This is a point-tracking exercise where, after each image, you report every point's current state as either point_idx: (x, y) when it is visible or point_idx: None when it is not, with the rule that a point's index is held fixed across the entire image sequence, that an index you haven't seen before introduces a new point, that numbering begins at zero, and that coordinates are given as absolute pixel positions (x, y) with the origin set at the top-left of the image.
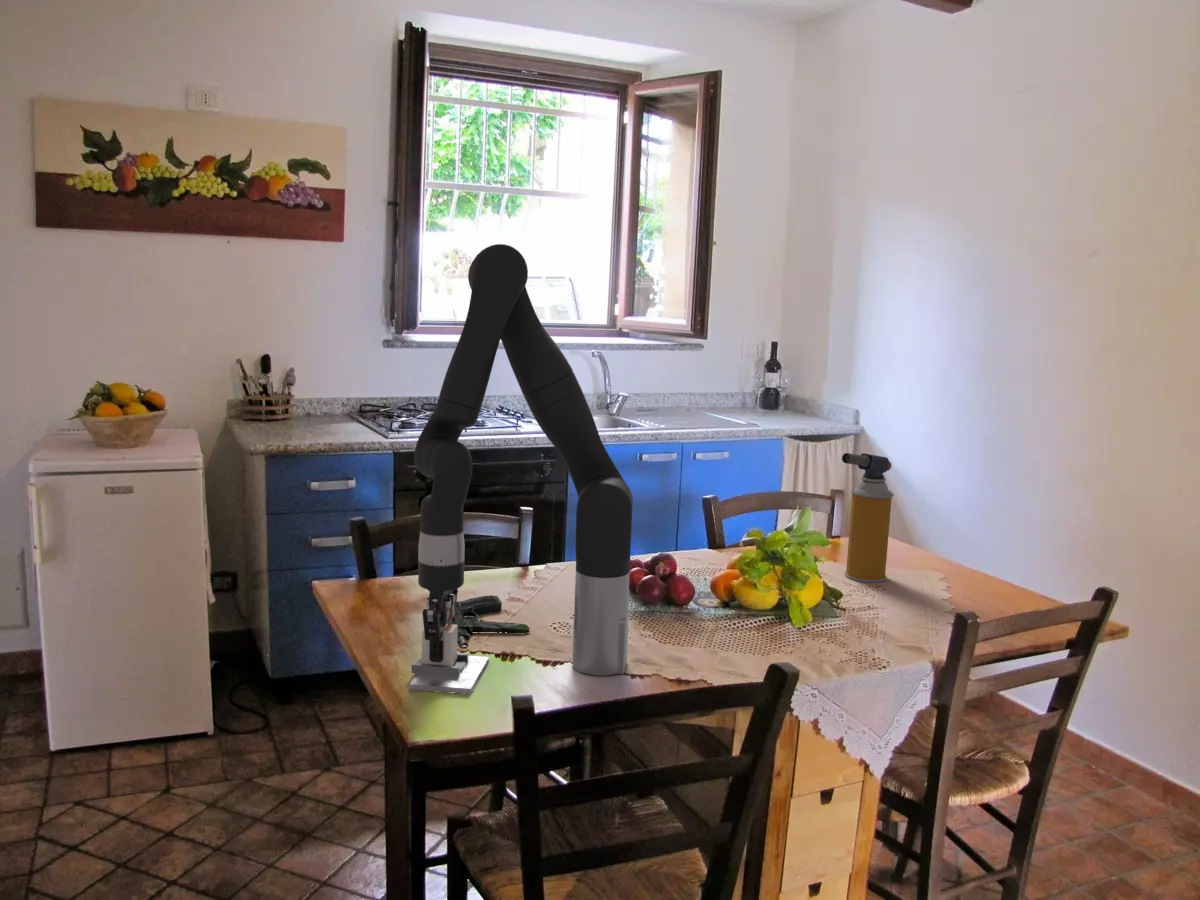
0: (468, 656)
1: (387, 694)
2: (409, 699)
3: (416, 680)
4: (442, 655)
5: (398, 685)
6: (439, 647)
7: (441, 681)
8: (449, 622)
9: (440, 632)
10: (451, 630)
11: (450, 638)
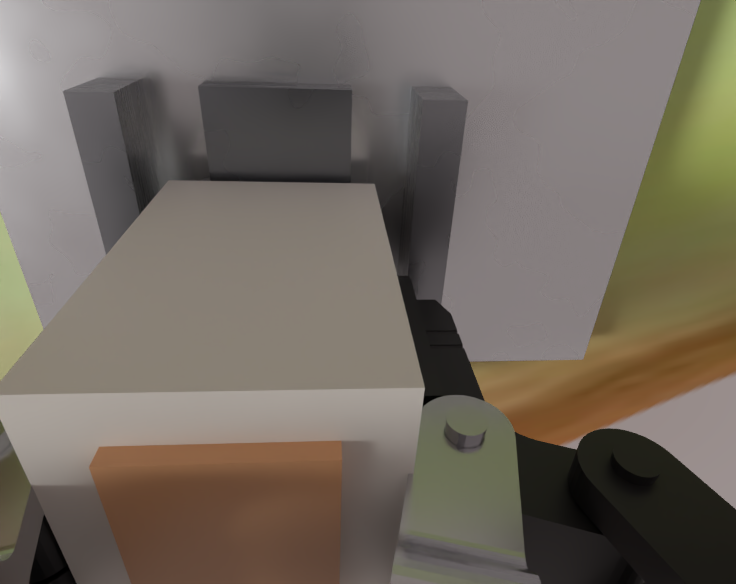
0: (80, 86)
1: (611, 407)
2: (691, 307)
3: (529, 340)
4: (412, 298)
5: (502, 395)
6: (455, 372)
7: (548, 197)
8: (26, 523)
9: (674, 535)
10: (309, 413)
11: (404, 342)
